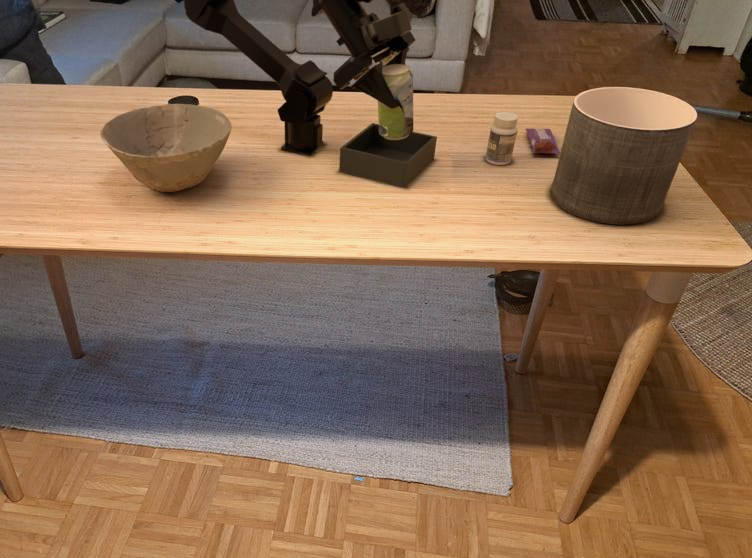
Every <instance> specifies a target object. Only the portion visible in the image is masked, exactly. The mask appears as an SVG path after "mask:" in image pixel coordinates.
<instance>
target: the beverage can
mask: <svg viewBox="0 0 752 558" xmlns="http://www.w3.org/2000/svg"><path fill="white" fill-rule="evenodd" d="M382 76H383V78H384V80H385V81H386V83H387V85H388V87H389V89H390V91H391V93H392V95H393V97H394V99H395V101H396V103H397V106H396V107H394V108H393V109H391V108H390V107H388V106H386V105H385V104H383V103H381V102H379V101H378V100H377V113H378V114H377V115H378V124H379V133H380V135H381V136H383V137H384V138H386V139H388V140H400V139H404V138H406V137H408V136H409V135H410V134H411V133H412V132H414V76H413V73H412V71H411V70H410V66H408V65H407V64H406V65H404V64H393V65H388V66H385V67H382Z"/></svg>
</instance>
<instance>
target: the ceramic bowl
mask: <svg viewBox="0 0 752 558" xmlns="http://www.w3.org/2000/svg"><path fill="white" fill-rule="evenodd" d="M231 133H232V122H231V121H230V119H229V118H228V117H227V116H226V115H225V114H224V113H223V112H221V111H220V110H218V109H214V108H212V107H209V106H203V105H198V104H190V103H167V104H161V105H152V106H149V107H142V108H136V109H133V110H130V111H126V112H124V113H121V114H118V115H116V116H115V117H114V118H112V119H110V120H109V121H108V122H106V123H105V124H104V125H103V127H102V129H101V130H100V135H99V136H100V138H101V140H102V141H103V143H104V144H105V145H106V146H107V147H108V149H109V150H110V151H111V152H112V153H113V154H114V155H115V156H116V157H117V159H118V160H119V161H120V162H121V163H122V165H124V167H125V168H126V169H127V170H128V171H129V173H130V174H131V175H132V176H133V177H134V178H135V180H137V181H138V182H139V183H141V184H142V185H143V186H145V187H147V188H149V189H151V190H155V191H158V192H163V193H171V192H172V193H173V192H178V191H182V190H185V189H190V188H192V187H195V186H197V185H199V184H200V183H201V182H202V181H204V180H205V179H206V177H207V176H208V174H210V172H211V171H212V170H213V168H214V167H215V165H216V163H217V162H218V160H219V158H220V156H221V155H222V153H223V151H224V148H225V147H226V145H227V142H228V140H229V137H230V135H231Z"/></svg>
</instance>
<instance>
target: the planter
mask: <svg viewBox="0 0 752 558" xmlns="http://www.w3.org/2000/svg"><path fill="white" fill-rule="evenodd" d="M697 119H698V112H697V110H696V109H695V108H694V107H693V106H692V105H691V104H689V103H688V102H687V101H685V100H683V99H680V98H678V97H676V96H673V95H670V94H668V93H667V94H666V93H663V92H660V91H656V90H650V89H645V88H639V87H629V86H628V87H626V86H605V87H596V88H591V89H588V90H585V91H582V92H580V93H578V94H576V96H575V97H574V98H573V101H572V104H571V109H570V113H569V117H568V121H567V125H566V128H565V134H564V137H563V141H562V146H561V149H560V154H559V157H558V161H557V165H556V169H555V173H554V177H553V181H552V184H551V187H550V196H551V199H552V200H553V202H554V203H555V204H556V205H557V206H558V207H559V208H560V209H561V208H562V209H563V210H564V211H566V212H568V213H570V214H571V215H574V216H576V217H578V218H582V219H584V220H589V221H591V222H595V223H596V222H597V223H601V224H608V225H638V224H642V223H646V222H649V221H651V220H653V219H655V218H656V217H658V216H659V215H660V214H661V212H662V210H663V207H664V204H665V201H666V199H667V198H666V197H667V196H668V193H669V190H670V188H671V186H672V183H673V180H674V178H675V175H676V172H677V170H678V168H679V165H680V164H681V163H680V162H681V160H682V157H683V155H684V153H685V150H686V148H687V145H688V143H689V140H690V136H691V134H692V133H693V129H694V127H695V124H696V122H697Z"/></svg>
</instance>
